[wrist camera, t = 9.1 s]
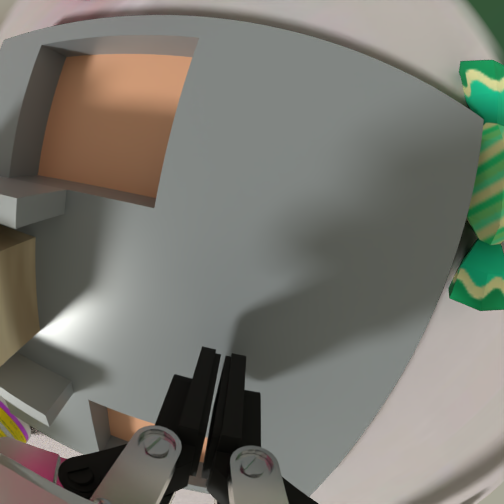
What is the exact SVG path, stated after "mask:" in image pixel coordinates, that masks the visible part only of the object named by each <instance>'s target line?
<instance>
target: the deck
mask: <svg viewBox="0 0 504 504" xmlns="http://www.w3.org/2000/svg"><path fill="white" fill-rule="evenodd" d="M483 122H484V119H483V118H481V117H480V116H478V115H477V114H476V113H474V112H473V111H471V110H470V109H468V108H467V107H465V106H464V105H462V104H461V103H459V102H458V101H456V100H454V99H453V98H451V97H450V96H448V95H446V94H445V93H443V92H441V91H439V90H438V89H436V88H434V87H432V86H431V85H429V84H427V83H425V82H423V81H421V80H420V79H418V78H416V77H414V76H412V75H410V74H408V73H406V72H404V71H402V70H400V69H397V68H395V67H393V66H391V65H389V64H386V63H384V62H382V61H380V60H377V59H375V58H372V57H370V56H368V55H365V54H362V53H360V52H357V51H355V50H352V49H349V48H346V47H344V46H341V45H338V44H335V43H332V42H329V41H325V40H322V39H319V38H315V37H312V36H308V35H305V34H301V33H297V32H293V31H289V30H285V29H281V28H276V27H271V26H266V25H261V24H256V23H250V22H244V21H237V20H230V19H222V18H212V17H201V16H185V15H134V16H119V17H108V18H99V19H91V20H84V21H78V22H72V23H66V24H61V25H56V26H52V27H47V28H43V29H39V30H35V31H32V32H28V33H25V34H21V35H18V36H15V37H11V38H8V39H5V40H4V41H3V44H2V46H1V49H0V224H1V225H3V226H6V227H9V228H11V229H14V230H17V231H20V232H22V233H25V234H28V235H31V236H33V237H36V240H35V272H36V293H37V307H38V317H39V326H40V332H38V333H37V334H36V335H35V336H34V337H33V338H32V339H30V340H29V341H28V342H27V343H26V344H25V345H24V346H23V347H21V348H20V349H19V350H18V351H17V352H16V353H15V354H14V355H13V356H11V357H10V358H9V359H8V360H7V361H6V362H5V363H4V364H3V365H2V366H1V367H0V396H1V397H3V398H4V399H5V401H6V403H7V406H8V408H9V411H10V413H11V414H13V415H14V416H16V417H17V418H19V419H20V420H22V421H23V422H25V423H27V424H28V425H30V426H31V427H33V428H35V429H36V430H38V431H40V432H41V433H43V434H45V435H47V436H48V437H50V438H52V439H54V440H56V441H58V442H59V443H61V444H63V445H65V446H67V447H69V448H71V449H73V450H75V451H77V452H80V453H82V454H84V455H85V454H90V453H94V452H98V451H102V450H106V449H110V448H113V447H117V446H121V445H124V444H127V443H128V442H129V441H130V439H131V438H132V436H133V435H134V433H135V432H136V431H137V430H138V429H140V428H142V427H145V426H150V425H155V423H156V420H157V418H158V415H159V412H160V410H161V407H162V404H163V402H164V399H165V396H166V394H167V391H168V389H169V386H170V383H171V381H172V378H173V376H174V374H177V375H181V376H184V377H188V378H193V375H194V371H195V368H196V365H197V361H198V358H199V355H200V351H201V348H202V346H203V347H208V348H212V349H216V353H217V354H221V358H220V363H219V368H218V373H217V379H216V384H215V389H214V395H213V400H212V405H211V411H210V416H209V421H208V427H207V431H206V436H205V440H204V445H203V449H202V453H201V457H200V462H199V466H198V470H197V474H196V477H194V476H189V481H188V486H187V487H185V488H183V489H188V490H192V491H197V492H202V493H207V494H210V493H209V492H208V491H207V486H206V480H207V479H204V478H201V474H202V468H203V462H204V456H205V451H206V445H207V439H208V433H209V428H210V422H211V417H212V411H213V406H214V402H215V397H216V393H217V389H218V385H219V381H220V377H221V372H222V368H223V364H224V360H225V356H230V357H231V355H232V353H234V354H239V355H244V356H246V373H245V389H244V390H249V391H254V392H260V394H261V448H264V449H266V450H268V451H269V452H271V453H272V454H273V455H274V456H275V457H276V459H277V461H278V463H279V467H280V471H281V475H282V477H283V478H285V479H286V480H287V481H288V482H290V483H291V484H292V485H294V486H295V487H296V488H297V489H299V490H300V491H301V492H303V493H304V494H306V495H307V496H308V497H309V496H310V495H311V494H312V493H313V492H314V491H315V490H316V489H317V488H318V487H319V486H320V485H321V484H322V483H323V482H324V480H325V479H326V478H327V477H328V476H329V475H330V474H331V473H332V471H333V470H334V469H335V468H336V467H337V466H338V464H339V463H340V462H341V461H342V460H343V458H344V457H345V456H346V455H347V454H348V452H349V451H350V450H351V448H352V447H353V446H354V445H355V443H356V442H357V441H358V439H359V438H360V437H361V435H362V434H363V433H364V431H365V430H366V429H367V427H368V426H369V424H370V423H371V422H372V420H373V419H374V417H375V416H376V414H377V413H378V411H379V410H380V408H381V407H382V405H383V404H384V402H385V401H386V399H387V398H388V396H389V394H390V393H391V391H392V390H393V388H394V386H395V385H396V383H397V381H398V380H399V378H400V376H401V374H402V373H403V371H404V369H405V367H406V366H407V364H408V362H409V360H410V358H411V357H412V355H413V353H414V351H415V349H416V347H417V345H418V343H419V341H420V339H421V337H422V335H423V333H424V331H425V329H426V327H427V325H428V323H429V320H430V318H431V316H432V314H433V311H434V309H435V307H436V305H437V302H438V300H439V297H440V295H441V293H442V290H443V288H444V285H445V282H446V280H447V277H448V274H449V272H450V269H451V266H452V263H453V260H454V257H455V254H456V251H457V248H458V245H459V242H460V239H461V235H462V232H463V229H464V225H465V221H466V218H467V214H468V210H469V206H470V202H471V197H472V193H473V188H474V183H475V178H476V173H477V168H478V162H479V155H480V148H481V141H482V132H483Z"/></svg>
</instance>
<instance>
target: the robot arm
mask: <svg viewBox="0 0 504 504" xmlns="http://www.w3.org/2000/svg"><path fill="white" fill-rule="evenodd" d="M220 358H221V354H217V353H216V349H212V348H208V347H203V346H202V348H201V351H200V355H199V358H198V361H197V365H196V368H195V371H194V375H193V378H188V377H184V376H181V375H177V374H174V376H173V378H172V381H171V383H170V386H169V389H168V391H167V394H166V396H165V399H164V402H163V404H162V407H161V410H160V412H159V415H158V418H157V420H156V423H155V425H150V426H145V427H142V428H140V429H138V430H137V431H136V432H135V433H134V435H133V436H132V438H131V439H130V441H129V442H128V443H127V444H124V445H121V446H117V447H113V448H110V449H106V450H102V451H98V452H94V453H90V454H85V455H81V456H76V457H72V458H69V459H65V458H62V457H60V456H59V454H56V453H53V452H49V451H46V450H43V449H40V448H37V447H34V446H32V445H29V444H26V443H24V442H21V441H19V440H16V439H14V438H11V437H6V436H5V437H0V504H171V502H172V500H173V498H174V496H175V493H176V491H178V490H180V489H182V488H185V487H187V486H188V481H189V476H194V477H196V474H197V470H198V466H199V462H200V457H201V453H202V449H203V445H204V440H205V436H206V431H207V427H208V421H209V416H210V411H211V405H212V400H213V395H214V389H215V384H216V379H217V373H218V368H219V363H220ZM245 373H246V356H244V355H239V354H234V353H232V355H231V357H230V356H225V360H224V364H223V368H222V372H221V377H220V381H219V385H218V389H217V393H216V397H215V402H214V406H213V411H212V417H211V422H210V428H209V433H208V439H207V445H206V451H205V456H204V462H203V468H202V474H201V478H204V479H207V480H206V486H207V491H208V492H209V493H210V494H211V495H212V496H213V497H214V498H215V499H214V504H318V503H317V502H315V501H314V500H313V499H311V498H310V497H308V496H307V495H306V494H304V493H303V492H301V491H300V490H299V489H297V488H296V487H295V486H294V485H292V484H291V483H290V482H288V481H287V480H286V479H285V478H283V477H282V475H281V471H280V467H279V463H278V461H277V459H276V457H275V456H274V455H273V454H272V453H271V452H269V451H268V450H266V449H264V448H261V394H260V392H254V391H249V390H244V389H245Z"/></svg>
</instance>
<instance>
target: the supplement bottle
mask: <svg viewBox="0 0 504 504" xmlns="http://www.w3.org/2000/svg"><path fill="white" fill-rule="evenodd" d="M5 436H6V437H11V438H14V439H16V440H19V441H21V442H24V443H27V441H28V440H29V438H30V437H31V428H30V426H29V425H28V424H27V423H25V422H23V421H22V420H20V419H19V418H17V417H16V416H14V415H13V414H11V413H10V411H9V408H8V406H7V403H6V401H5V399H4V398H3V397H1V396H0V437H5Z"/></svg>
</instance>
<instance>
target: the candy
mask: <svg viewBox="0 0 504 504" xmlns="http://www.w3.org/2000/svg"><path fill="white" fill-rule="evenodd" d="M459 73H460V76H461V80H462V84H463V89H464V94H465V99H466V103H467V104H468V106H469V107H470V109H471V110H472V111H473V112H474V113H476V114H477V115H478V116H480V117H481V118H483V119H484V122H483V132H482V141H481V148H480V155H479V162H478V168H477V173H476V178H475V183H474V188H473V193H472V197H471V202H470V206H469V210H468V214H467V218H466V219H467V220H468V222H469V224H470V226H471V227H472V229H473V231H474V232H475V234H476V236H477V238H478V239H477V240H476V242H475V243H474V245H473V246H472V248H471V249H470V251H469V252H468V254H467V255H466V256H465V258H464V259H463V261H462V263H461V265H460V267H459V269H458V270H457V272H456V274H455V276H454V278H453V280H452V282H451V284H450V287H449V298H450V299H453V300H455V301H458V302H460V303H462V304H465V305H467V306H470V307H472V308H474V309H477V310H479V311H487V310H504V253H503V250H502V246H501V243H502V242H503V241H504V65H502V64H500V63H498V62H496V61H494V60H476V61H461V62H460V69H459Z"/></svg>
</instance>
